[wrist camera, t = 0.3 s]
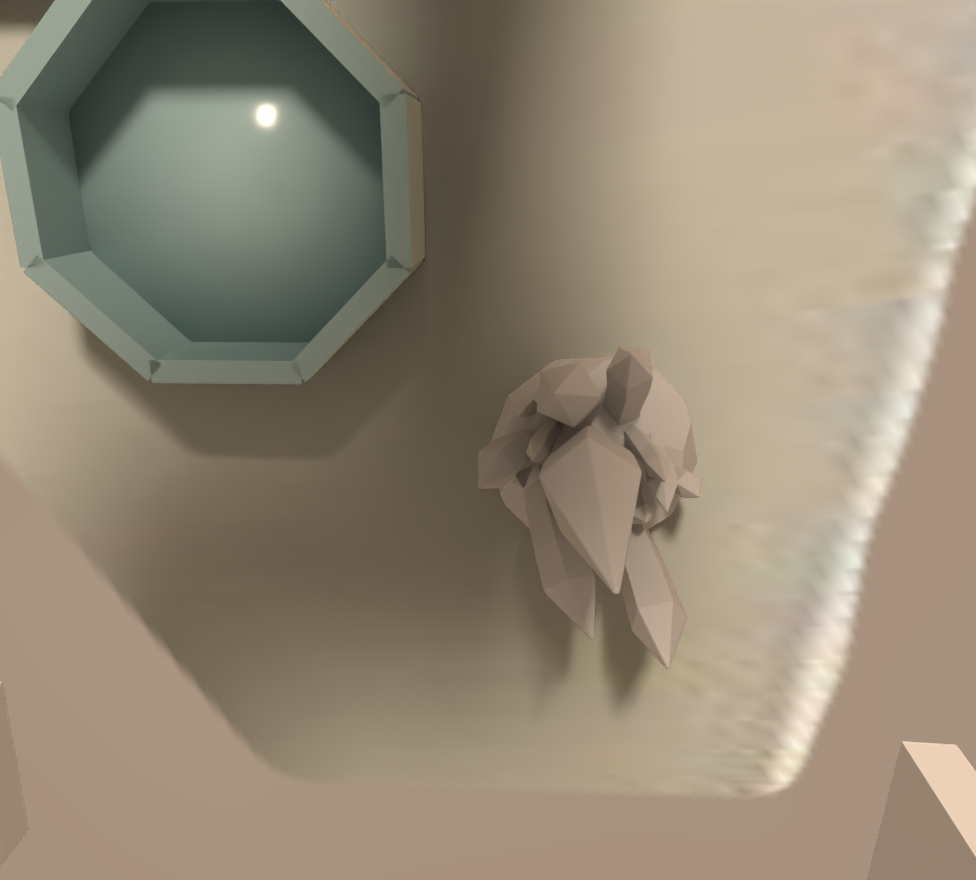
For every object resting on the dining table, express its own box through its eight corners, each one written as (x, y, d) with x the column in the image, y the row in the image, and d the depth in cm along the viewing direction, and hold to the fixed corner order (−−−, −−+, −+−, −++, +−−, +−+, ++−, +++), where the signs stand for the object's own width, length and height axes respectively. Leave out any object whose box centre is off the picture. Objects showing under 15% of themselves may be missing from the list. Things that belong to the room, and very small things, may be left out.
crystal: (550, 607, 42) (560, 832, 28) (447, 377, 38) (398, 501, 24) (736, 543, 40) (847, 748, 26) (647, 296, 37) (720, 379, 23)
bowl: (34, -20, 34) (-38, -47, 29) (417, -26, 33) (401, -54, 29) (95, 358, 39) (41, 381, 35) (428, 360, 38) (415, 385, 34)
